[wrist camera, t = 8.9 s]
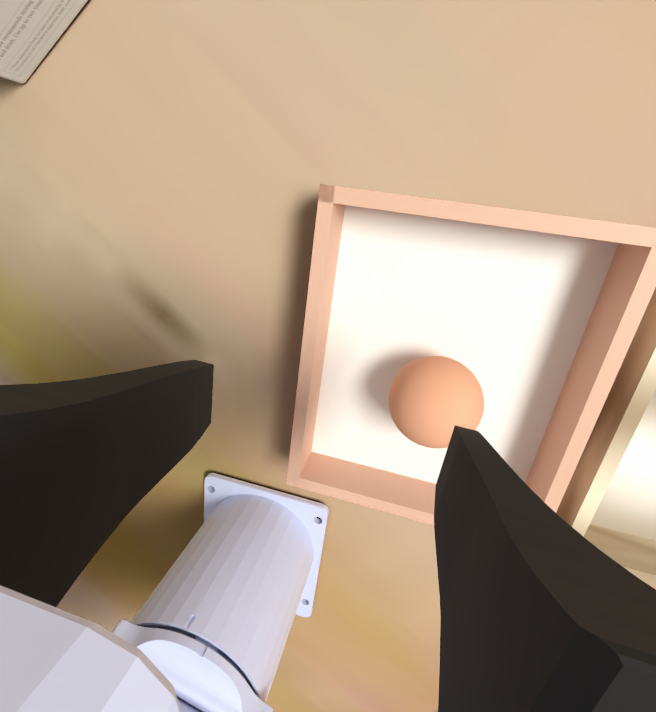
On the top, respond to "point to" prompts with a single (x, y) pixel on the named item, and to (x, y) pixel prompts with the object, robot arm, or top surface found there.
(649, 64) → the top surface
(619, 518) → the box
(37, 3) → the supplement box
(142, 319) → the top surface
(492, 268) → the peach open box
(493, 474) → the robot arm
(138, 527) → the top surface
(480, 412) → the terracotta ball
